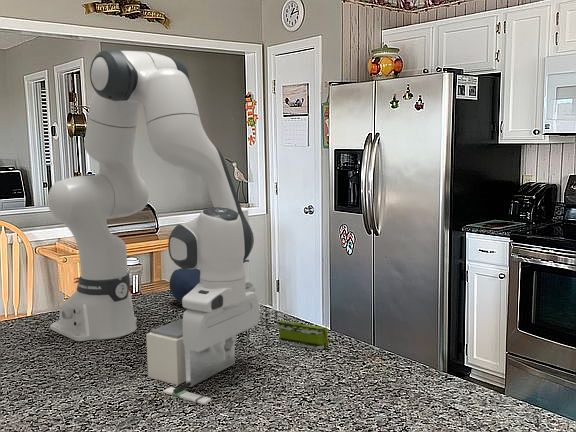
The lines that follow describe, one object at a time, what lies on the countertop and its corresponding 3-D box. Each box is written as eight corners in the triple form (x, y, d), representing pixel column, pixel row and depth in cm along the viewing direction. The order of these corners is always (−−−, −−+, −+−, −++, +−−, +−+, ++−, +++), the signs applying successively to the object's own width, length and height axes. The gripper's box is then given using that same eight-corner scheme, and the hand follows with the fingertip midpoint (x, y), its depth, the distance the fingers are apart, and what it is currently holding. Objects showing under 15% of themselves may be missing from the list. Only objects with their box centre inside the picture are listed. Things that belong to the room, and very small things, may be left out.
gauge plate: (133, 382, 121) (131, 343, 120) (194, 353, 136) (193, 318, 135) (175, 394, 115) (174, 353, 114) (234, 363, 130) (234, 327, 129)
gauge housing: (133, 383, 121) (131, 336, 120) (193, 355, 136) (192, 313, 135) (204, 404, 112) (202, 353, 110) (260, 371, 127) (259, 326, 125)
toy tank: (317, 332, 135) (337, 311, 143) (246, 320, 144) (268, 301, 152) (321, 360, 137) (339, 338, 145) (250, 347, 146) (271, 327, 154)
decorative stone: (163, 309, 172) (162, 274, 171) (178, 297, 184) (177, 265, 182) (204, 310, 170) (203, 275, 169) (216, 299, 182) (215, 266, 181)
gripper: (241, 278, 131) (243, 341, 132) (175, 301, 114) (178, 372, 115) (266, 281, 127) (267, 346, 129) (201, 305, 110) (204, 379, 112)
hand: (224, 359), depth 122 cm, fingers closed
